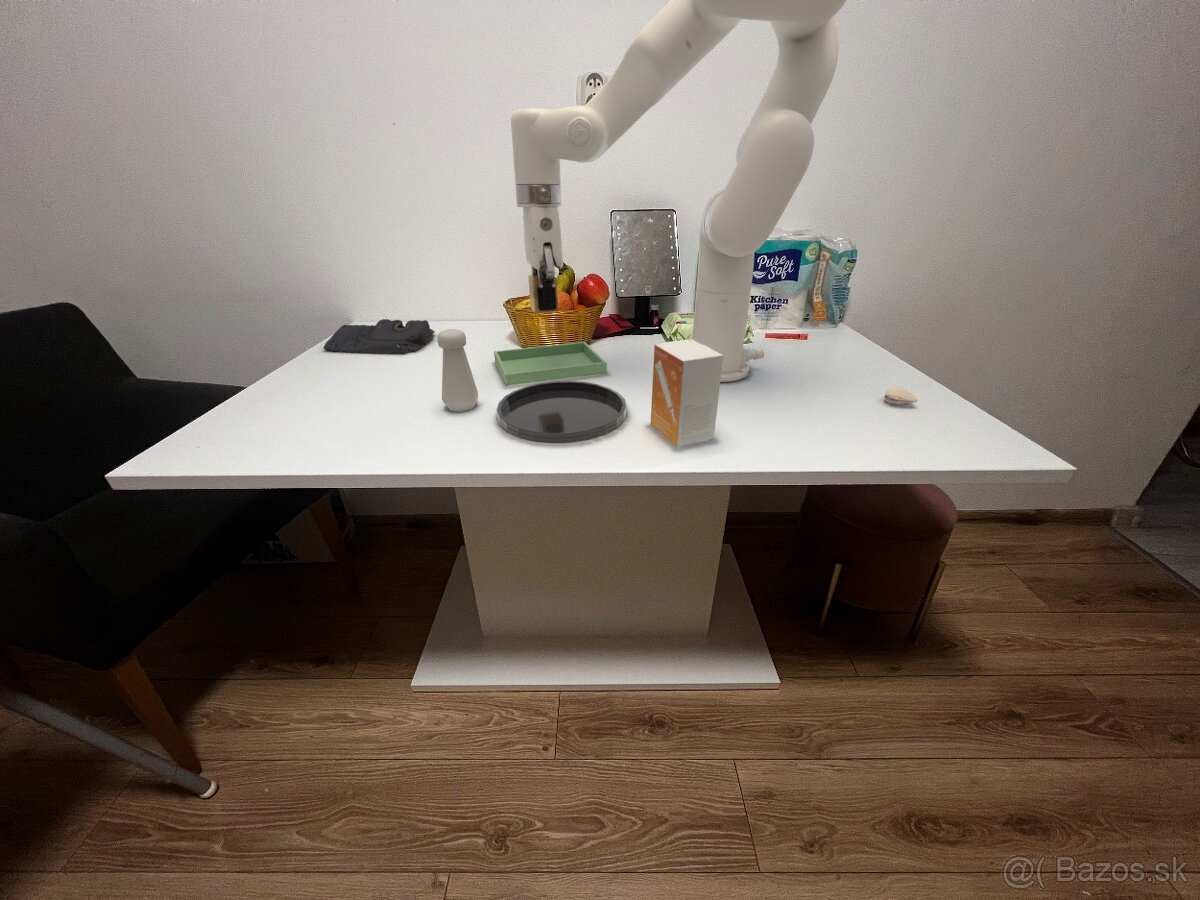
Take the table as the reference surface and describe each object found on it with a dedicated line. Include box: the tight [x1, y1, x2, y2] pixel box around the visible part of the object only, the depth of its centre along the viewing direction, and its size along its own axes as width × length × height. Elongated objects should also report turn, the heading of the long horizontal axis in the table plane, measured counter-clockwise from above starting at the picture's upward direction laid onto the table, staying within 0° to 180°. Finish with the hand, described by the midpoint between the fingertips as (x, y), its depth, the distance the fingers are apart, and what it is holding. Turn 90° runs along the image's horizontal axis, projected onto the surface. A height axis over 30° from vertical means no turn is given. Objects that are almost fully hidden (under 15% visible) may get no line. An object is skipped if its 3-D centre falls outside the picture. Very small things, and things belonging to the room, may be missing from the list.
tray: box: [493, 341, 608, 386], centre depth 100 cm, size 19×14×2 cm
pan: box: [496, 380, 627, 444], centre depth 81 cm, size 20×20×2 cm
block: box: [527, 274, 559, 314], centre depth 93 cm, size 4×4×6 cm
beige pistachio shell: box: [883, 386, 919, 405], centre depth 84 cm, size 4×5×2 cm
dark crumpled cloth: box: [322, 318, 436, 355], centre depth 115 cm, size 15×22×5 cm
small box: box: [650, 338, 723, 447], centre depth 72 cm, size 8×6×13 cm
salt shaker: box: [436, 328, 479, 413], centre depth 81 cm, size 6×6×13 cm
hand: (544, 305), depth 95 cm, fingers closed on block, 4 cm apart
